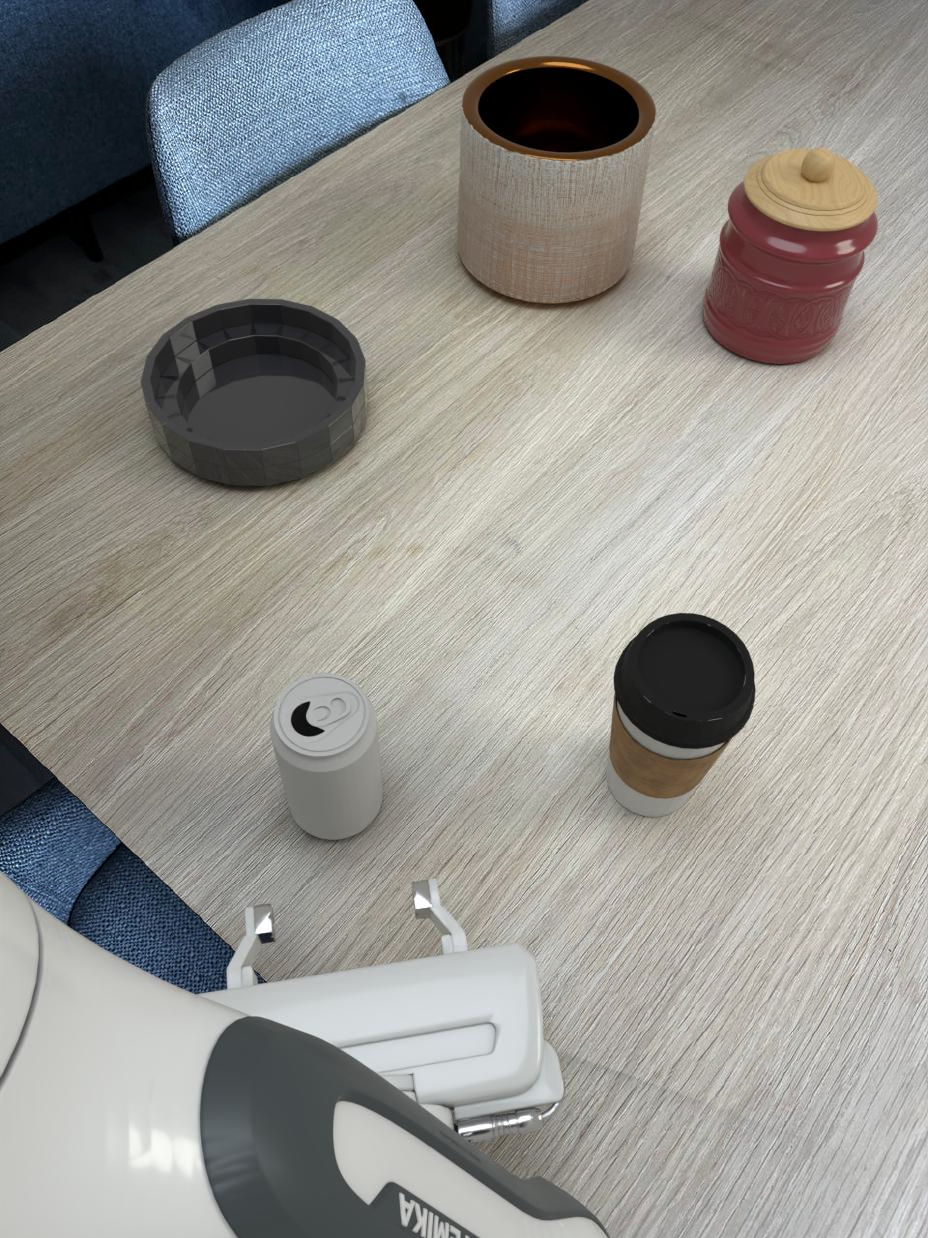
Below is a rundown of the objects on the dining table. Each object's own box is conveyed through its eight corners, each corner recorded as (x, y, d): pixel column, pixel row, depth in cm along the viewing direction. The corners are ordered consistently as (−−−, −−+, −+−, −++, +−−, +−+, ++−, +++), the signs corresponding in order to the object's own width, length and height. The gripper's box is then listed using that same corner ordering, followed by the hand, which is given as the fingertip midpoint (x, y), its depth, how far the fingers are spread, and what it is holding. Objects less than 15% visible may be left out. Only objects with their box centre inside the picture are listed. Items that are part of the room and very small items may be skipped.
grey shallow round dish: (174, 513, 85) (160, 471, 81) (140, 365, 95) (126, 321, 90) (393, 464, 88) (391, 421, 84) (338, 326, 98) (334, 282, 94)
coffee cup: (574, 812, 70) (603, 701, 58) (605, 710, 75) (638, 587, 63) (696, 851, 69) (752, 746, 57) (719, 745, 74) (776, 626, 61)
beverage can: (275, 781, 71) (250, 691, 61) (361, 744, 73) (349, 651, 63) (311, 860, 68) (290, 779, 58) (399, 819, 70) (394, 733, 60)
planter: (661, 241, 107) (692, 91, 94) (575, 335, 98) (597, 184, 85) (515, 183, 112) (526, 33, 99) (422, 267, 104) (420, 115, 91)
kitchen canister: (714, 267, 105) (759, 95, 90) (843, 297, 103) (910, 125, 88) (686, 348, 98) (730, 175, 83) (824, 381, 95) (894, 210, 81)
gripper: (580, 1114, 50) (523, 847, 58) (150, 1192, 48) (151, 903, 56) (566, 1135, 55) (516, 887, 63) (177, 1206, 53) (175, 940, 61)
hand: (342, 895), depth 59 cm, fingers open, 8 cm apart
